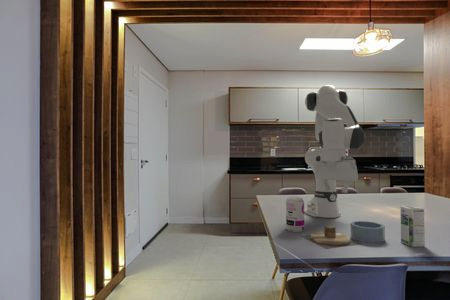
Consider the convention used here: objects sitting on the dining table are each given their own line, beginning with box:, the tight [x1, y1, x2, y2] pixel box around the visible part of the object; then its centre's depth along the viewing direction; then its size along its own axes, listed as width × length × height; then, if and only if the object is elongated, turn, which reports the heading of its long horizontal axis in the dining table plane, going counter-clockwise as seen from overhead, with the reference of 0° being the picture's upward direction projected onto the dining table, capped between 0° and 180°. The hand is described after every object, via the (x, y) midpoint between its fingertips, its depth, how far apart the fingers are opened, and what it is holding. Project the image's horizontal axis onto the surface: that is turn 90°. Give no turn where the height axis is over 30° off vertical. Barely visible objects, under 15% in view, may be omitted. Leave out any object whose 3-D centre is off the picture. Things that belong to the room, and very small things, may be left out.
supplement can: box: [285, 196, 306, 233], centre depth 127 cm, size 8×8×15 cm
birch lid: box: [310, 225, 351, 246], centre depth 111 cm, size 15×15×5 cm
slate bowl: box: [350, 220, 386, 244], centre depth 113 cm, size 12×12×6 cm
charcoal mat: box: [300, 234, 363, 250], centre depth 111 cm, size 17×17×1 cm
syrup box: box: [400, 205, 426, 248], centre depth 105 cm, size 6×6×14 cm
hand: (335, 191), depth 110 cm, fingers open, 8 cm apart
